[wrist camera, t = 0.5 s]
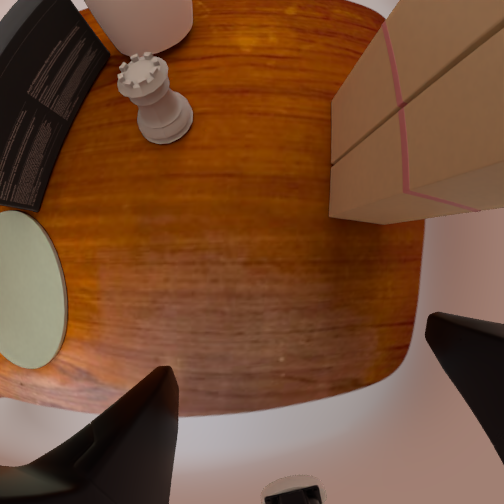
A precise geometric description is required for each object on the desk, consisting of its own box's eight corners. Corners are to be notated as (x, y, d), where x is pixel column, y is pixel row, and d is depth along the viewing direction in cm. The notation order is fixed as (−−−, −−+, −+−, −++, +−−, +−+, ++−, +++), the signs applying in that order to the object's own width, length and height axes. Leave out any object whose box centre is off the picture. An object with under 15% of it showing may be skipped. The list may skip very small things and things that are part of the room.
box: (69, 55, 19) (19, -5, 7) (113, 55, 20) (65, -21, 8) (3, 197, 19) (-80, 180, 7) (39, 214, 20) (-59, 198, 8)
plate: (90, 363, 20) (87, 365, 20) (-2, 367, 19) (-5, 369, 19) (51, 188, 20) (47, 186, 19) (-32, 235, 19) (-36, 235, 18)
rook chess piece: (197, 138, 20) (178, 85, 12) (144, 152, 20) (101, 109, 12) (190, 93, 20) (172, 33, 12) (140, 107, 20) (104, 55, 12)
